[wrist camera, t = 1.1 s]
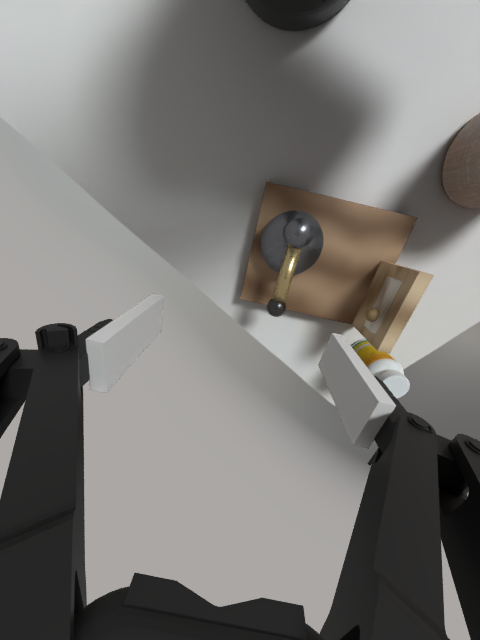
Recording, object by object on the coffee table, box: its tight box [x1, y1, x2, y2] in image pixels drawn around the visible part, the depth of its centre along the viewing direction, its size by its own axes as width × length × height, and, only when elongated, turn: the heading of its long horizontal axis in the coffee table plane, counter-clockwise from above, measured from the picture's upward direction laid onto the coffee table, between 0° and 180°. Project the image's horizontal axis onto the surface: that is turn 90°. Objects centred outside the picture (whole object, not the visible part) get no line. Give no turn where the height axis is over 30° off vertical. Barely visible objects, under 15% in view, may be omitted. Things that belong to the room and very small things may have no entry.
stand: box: [240, 182, 434, 354], centre depth 29 cm, size 16×20×10 cm
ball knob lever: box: [261, 210, 323, 317], centre depth 30 cm, size 13×8×6 cm, turn 168°
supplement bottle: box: [351, 339, 410, 399], centre depth 35 cm, size 5×5×10 cm
